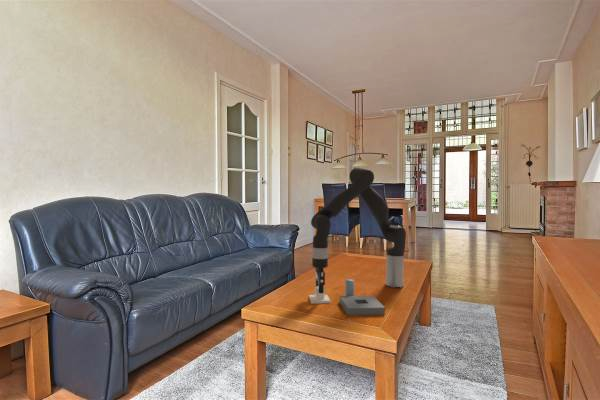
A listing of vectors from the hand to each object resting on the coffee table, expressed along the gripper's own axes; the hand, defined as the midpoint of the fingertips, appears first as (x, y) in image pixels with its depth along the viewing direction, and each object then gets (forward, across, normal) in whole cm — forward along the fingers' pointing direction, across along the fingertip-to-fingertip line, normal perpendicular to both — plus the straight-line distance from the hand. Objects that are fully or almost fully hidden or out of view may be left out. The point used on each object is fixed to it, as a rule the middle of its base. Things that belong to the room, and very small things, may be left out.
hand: (319, 290), depth 158 cm
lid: (+5, 0, 0) cm, 5 cm away
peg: (+5, +1, -15) cm, 16 cm away
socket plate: (+5, -12, -17) cm, 21 cm away
